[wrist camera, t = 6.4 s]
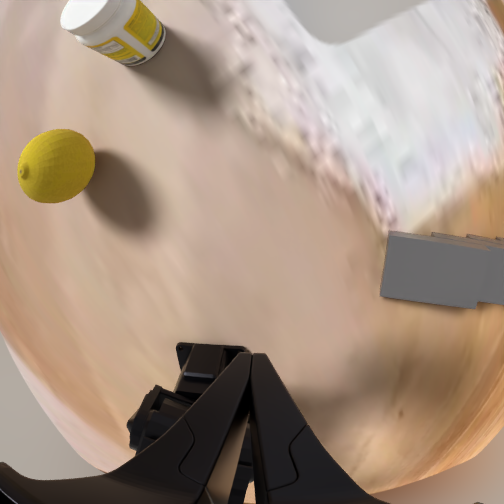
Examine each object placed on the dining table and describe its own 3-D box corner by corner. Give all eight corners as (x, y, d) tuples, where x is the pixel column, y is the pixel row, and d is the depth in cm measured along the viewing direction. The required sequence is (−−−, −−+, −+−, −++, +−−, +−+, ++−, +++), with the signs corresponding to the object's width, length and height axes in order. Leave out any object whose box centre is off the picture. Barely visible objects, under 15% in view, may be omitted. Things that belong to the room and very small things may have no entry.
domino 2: (431, 232, 19) (512, 246, 15) (421, 285, 21) (499, 297, 17) (435, 236, 18) (518, 252, 14) (423, 293, 20) (504, 304, 16)
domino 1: (388, 230, 20) (484, 245, 16) (380, 287, 21) (470, 300, 17) (389, 235, 18) (491, 251, 14) (379, 296, 20) (475, 309, 16)
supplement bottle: (151, 12, 15) (105, -35, 7) (177, 40, 16) (131, -10, 8) (108, 46, 16) (49, 16, 8) (129, 77, 17) (66, 48, 9)
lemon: (72, 201, 20) (9, 223, 13) (61, 145, 19) (-4, 149, 11) (119, 183, 20) (53, 199, 12) (106, 121, 18) (40, 112, 10)
